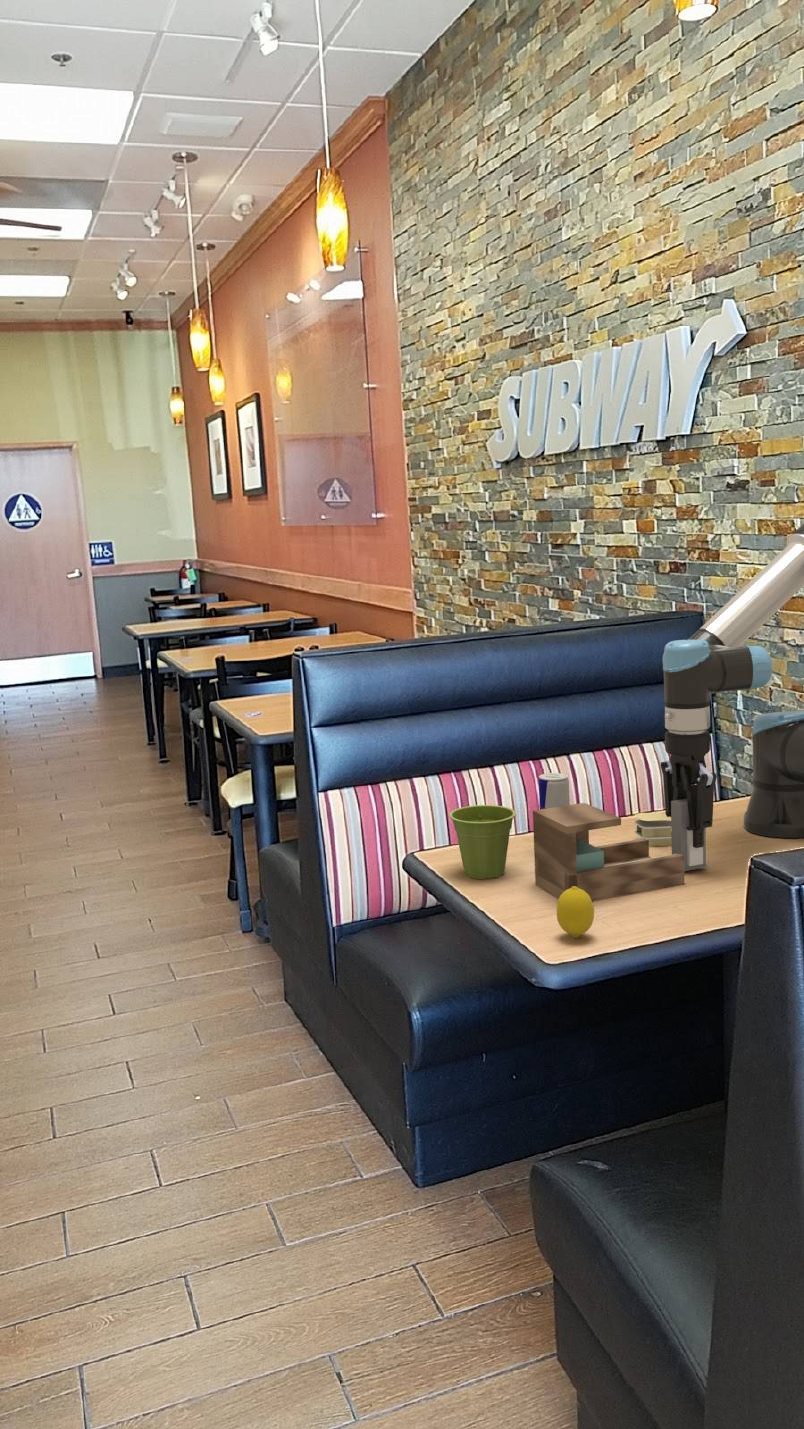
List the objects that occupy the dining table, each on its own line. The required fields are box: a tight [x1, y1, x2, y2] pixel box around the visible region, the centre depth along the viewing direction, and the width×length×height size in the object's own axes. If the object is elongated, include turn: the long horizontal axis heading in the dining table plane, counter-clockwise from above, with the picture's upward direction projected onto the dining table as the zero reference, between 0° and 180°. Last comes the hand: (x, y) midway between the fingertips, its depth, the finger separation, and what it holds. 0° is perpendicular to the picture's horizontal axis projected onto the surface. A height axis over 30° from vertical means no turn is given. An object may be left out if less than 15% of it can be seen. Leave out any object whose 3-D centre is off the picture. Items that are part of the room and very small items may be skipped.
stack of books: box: [634, 812, 672, 848], centre depth 210 cm, size 10×9×6 cm
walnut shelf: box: [532, 802, 685, 902], centre depth 187 cm, size 22×12×13 cm, turn 110°
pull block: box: [576, 798, 707, 872], centre depth 189 cm, size 28×7×12 cm, turn 110°
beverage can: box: [538, 772, 571, 810], centre depth 207 cm, size 6×6×15 cm
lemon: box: [556, 886, 595, 939], centre depth 164 cm, size 6×6×8 cm
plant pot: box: [448, 804, 517, 880], centre depth 197 cm, size 12×12×11 cm
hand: (688, 861), depth 193 cm, fingers closed on pull block, 3 cm apart
